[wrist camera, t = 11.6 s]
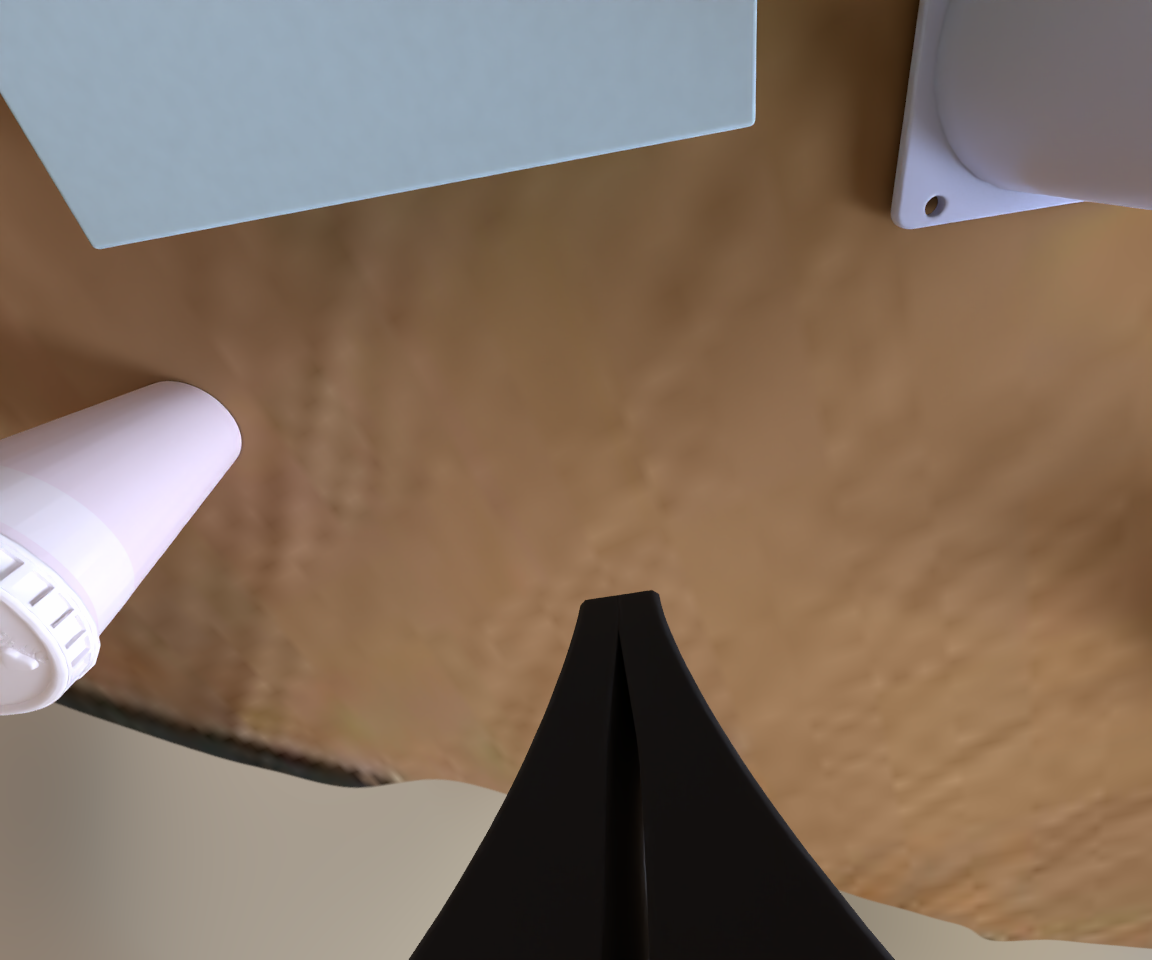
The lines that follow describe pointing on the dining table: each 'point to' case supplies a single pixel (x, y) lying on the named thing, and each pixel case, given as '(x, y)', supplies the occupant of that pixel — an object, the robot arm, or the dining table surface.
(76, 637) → the smoothie
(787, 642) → the dining table surface
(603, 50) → the pale blue lid
